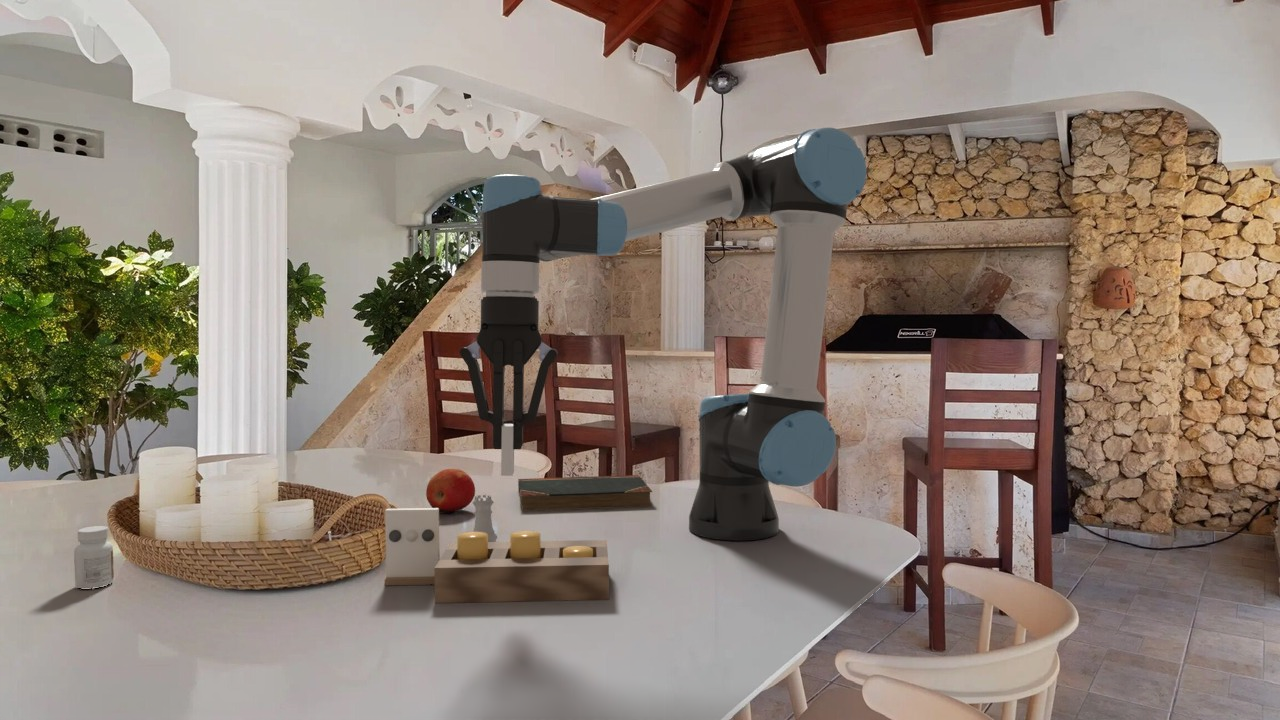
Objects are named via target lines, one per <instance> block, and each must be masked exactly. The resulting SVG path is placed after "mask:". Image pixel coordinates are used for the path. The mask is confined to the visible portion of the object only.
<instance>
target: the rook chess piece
mask: <svg viewBox="0 0 1280 720" xmlns="http://www.w3.org/2000/svg"><path fill="white" fill-rule="evenodd" d="M494 503H495V502H494V501H493V499H492V496H491V495H489V494H488V495H487V494H482V496H481V495H475V496H474V499H473V502H472V504H473V506H474V507H475V511H474V512H473V514H474V516H475V520H474V526H473V527H474V528H473V530H472V532H484V533H487V534H488V542H497V539H498V535H497V534H496V533H495V530H494V527H493V520H492V513H493V511H492V508H491V507H492V506H493V504H494Z"/></svg>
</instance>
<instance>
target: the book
mask: <svg viewBox="0 0 1280 720" xmlns="http://www.w3.org/2000/svg"><path fill="white" fill-rule="evenodd" d="M517 482H518V485H517V486H518V488H517V489H518V491H517V492H518V493H519V497H520V502H521V509H522V511H523V512H524V511H525V512H526V511H548V510H549V511H550V510H552V511H553V510H555V511H556V510H557V511H558V510H578V509H579V510H580V509H581V510H582V509H583V510H584V509H605V508H606V509H610V508H634V507H636V508H637V507H639V508H641V507H651V493H653V490H652V489H651V488H650V486H648V484H647V483H646V482H645V481H644V480H643V478H642V477H641V476H640V475H639V474H634V475H633V474H631V475H629V474H628V475H600V476H594V475H593V476H571V477H570V476H568V477H540V478H539V477H537V478H534V477H533V478H518V480H517Z"/></svg>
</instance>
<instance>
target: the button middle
mask: <svg viewBox="0 0 1280 720" xmlns="http://www.w3.org/2000/svg"><path fill="white" fill-rule="evenodd" d="M509 537H510V538H509V539H510V541H509V542H510V558H511V559H524V558H541V546H540V541H541V533H540V532H538V531H535V530H534V531H532V530H522V531H521V530H520V531H515V532H513V533H511V534H510V536H509Z"/></svg>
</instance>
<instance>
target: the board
mask: <svg viewBox="0 0 1280 720" xmlns="http://www.w3.org/2000/svg"><path fill="white" fill-rule="evenodd" d="M540 546H541V558H524V559H511V558H510V541H496V542H488V559H467V560H458V556H457V541H456V542H449V543H448V544H447V546H446V548H445V549H444V552H442V555H441V556H440V560H439V561H438V563H437V565H436V566H435V568H434V571H435V584H434V604H446V603H447V604H448V603H449V604H451V603H453V604H454V603H496V602H497V603H499V602H503V603H504V602H505V603H506V602H542V601H544V602H545V601H546V602H548V601H549V602H550V601H552V602H553V601H591V600H592V601H595V600H596V601H598V600H599V601H602V600H609V599H610V596H609V595H610V593H609V591H610V581H609V580H610V578H609V577H610V570H609V567H610V566H609V565H610V564H609V552H608V541H607V539H598V540H597V539H596V540H594V539H592V540H589V539H586V540H583V539H582V540H581V539H580V540H540ZM571 546H587V547H590V548H592V549H593V557H581V558H563V549H564V548H567V547H571Z"/></svg>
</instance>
